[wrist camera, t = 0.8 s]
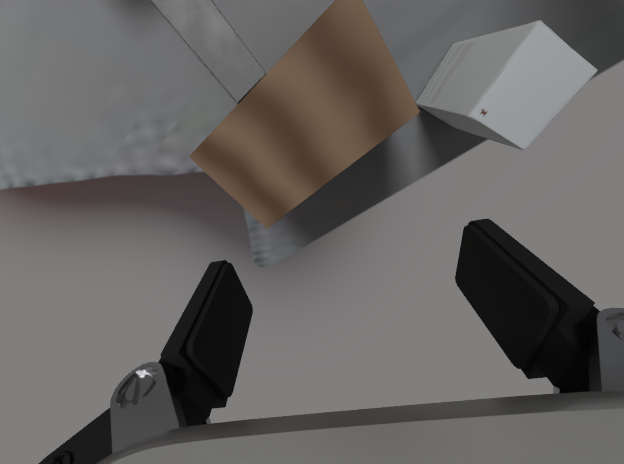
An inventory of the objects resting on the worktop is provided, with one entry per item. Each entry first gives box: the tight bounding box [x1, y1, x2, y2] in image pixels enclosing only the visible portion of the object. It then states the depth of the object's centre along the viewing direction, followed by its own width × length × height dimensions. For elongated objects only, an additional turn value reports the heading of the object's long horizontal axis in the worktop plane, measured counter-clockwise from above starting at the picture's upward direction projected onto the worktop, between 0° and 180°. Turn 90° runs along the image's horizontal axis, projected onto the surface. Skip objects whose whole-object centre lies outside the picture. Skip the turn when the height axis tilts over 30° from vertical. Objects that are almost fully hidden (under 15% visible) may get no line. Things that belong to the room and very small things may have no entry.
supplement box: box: [416, 20, 597, 150], centre depth 26 cm, size 7×7×13 cm
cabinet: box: [189, 0, 420, 228], centre depth 27 cm, size 19×10×14 cm, turn 129°
